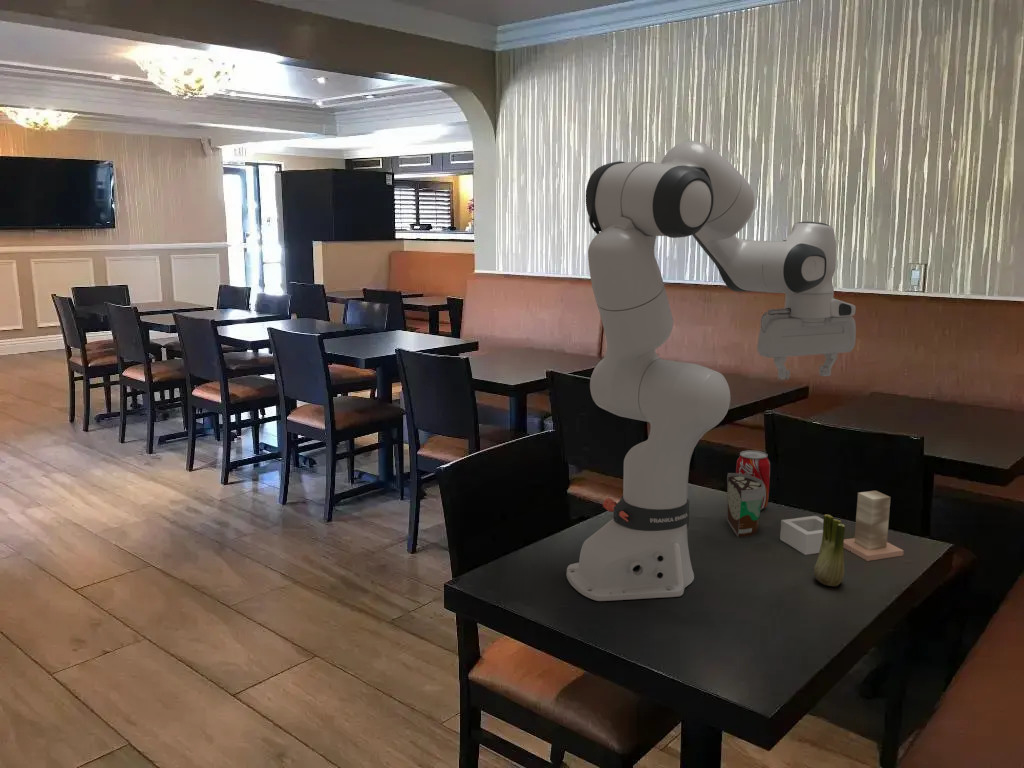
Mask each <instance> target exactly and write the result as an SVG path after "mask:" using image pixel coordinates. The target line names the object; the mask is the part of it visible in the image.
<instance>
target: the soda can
mask: <svg viewBox="0 0 1024 768" xmlns="http://www.w3.org/2000/svg"><path fill="white" fill-rule="evenodd" d="M735 467H736V468H735V473H738V474H745V475H750V476H753V477H756V478H758V479H760V480H761V481H762V482H763V484H764V486H765V492H766V495H765V496H764V497H763V498H762V501H761V508H760V511H762V510H763V509H765V508H767V507H768V505H769V504H768V503H769V495H770V479H771V478H770V477H771V475H770V474H771V462H770V460H769V458H768V453H766V452H764V451H762V450H761V451H759V450H751V449H750V450H749V449H748V450H742V451H740V452H739V457H738V458H737V460H736V466H735Z"/></svg>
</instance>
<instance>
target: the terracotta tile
mask: <svg viewBox="0 0 1024 768" xmlns="http://www.w3.org/2000/svg"><path fill="white" fill-rule="evenodd" d="M854 540H855V537H853V538H844V545H843V549H845V550H847V551H849V552H850V551H851V552H850V553H852V554H854V555H855V556H858V557H860V558H861V559H863V560H864V561H866V562H869V561H876V560H882V559H890V558H896V557H902V556H904V550H903V549H901V548H900V547H898V546H896V545H894V544H892V543H890V542H888V541H887V547H886V548H882V549H875V550H867V549H865V548H863V547H861V546H860V545H858V544H856V543H854Z"/></svg>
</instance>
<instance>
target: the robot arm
mask: <svg viewBox="0 0 1024 768" xmlns="http://www.w3.org/2000/svg"><path fill="white" fill-rule="evenodd" d="M588 178H589V179H588V181H587V183H586V184H587V185H586V189H585V207H586V212H587V215H588V222H589V225H590V227H591V229H592V231H594V233H595V234H596V235H595V236H594V237H593V239H591V241H590V243H589V245H588V250H587V260H588V269H589V275H590V281H591V287H592V291H593V295H594V298H595V302H596V305H597V309H598V313H599V315H600V319H601V322H602V323H601V324H602V327H603V331H604V335H605V340H606V350H605V351H606V352H605V355H604V357H603V358H602V359H601V360H600V361H599V362H598V363H597V365H596V366H595V367H594V369H593V371H592V374H591V376H590V380H589V381H590V382H589V389H590V395H591V398H592V401H593V402H594V403H595V405H596V406H597V407H599V408H600V409H602V410H605V411H606V412H609V413H611V414H612V415H616V416H618V417H622V418H627V419H632V420H637V421H642V422H648V423H649V424H650V429H649V435H648V438H647V439H646V440H645V441H642V442H639V443H637V444H636V445H634V446H632V447H631V448H630V449H629V450H628V452H627V453H626V454H625V457H624V459H623V480H622V481H623V486H622V489H623V490H622V491H623V494H622V496H621V497H620V499H619V501H618V502H616V501H614V499H612V498H610V497H608V498H605V499H604V501H603V503H602V506H603V508H604V509H605V510H606V511H608V512H609V513H612V512H613V517H612V518H611V519H610V520H609V521H608V522H606V523H605V524H604V525H603V526H602V527H601V528H599V529H598V530H596V532H594V533H593V534H592V535H590V536H588V537H587V539H585V540H584V541H583V543H582V546H581V550H580V554H579V561H578V562H575V563H571V564H568V566H567V567H566V573H565V574H566V579H567V581H568V583H569V584H570V586H572V587H573V588H574V589H575V590H576V591H577V592H578V593H580V594H581V595H582V596H584V597H586V598H588V599H591V600H594V601H597V602H607V601H609V602H610V601H623V600H626V601H627V600H642V599H643V600H644V599H657V598H658V599H659V598H675V597H678V598H679V597H681V596H682V595H683V594H684V592H685V588H686V587H688V586H689V585H691V584H692V583H693V582H694V580H695V574H694V571H693V567H692V561H691V557H690V551H689V542H688V528H689V524H690V500H689V498H688V485H689V484H688V483H689V472H690V463H691V459H692V455H693V453H694V449H695V447H696V446H697V444H698V443H699V441H700V440H701V438H702V437H703V436H704V435H705V434H706V433H708V431H710V430H712V429H714V428H716V427H717V425H719V424H720V423H721V422H722V421H723V420H724V419H725V416H727V414H728V411H729V408H730V404H731V390H730V386H729V383H728V382H727V381H728V380H727V379H726V378H725V376H724V375H723V373H721V372H720V371H716V370H714V369H711V368H709V367H706V366H703V365H701V364H698V363H691V362H685V361H678V360H669V359H664V358H661V357H660V356H659V355H658V354H657V352H656V349H658V348H659V347H661V346H663V345H664V343H666V342H667V340H668V339H669V337H670V336H671V333H672V331H673V329H674V328H673V326H674V318H673V314H672V311H671V306H670V302H669V298H668V296H667V291H666V287H665V282H664V280H663V276H662V273H661V270H660V267H659V263H658V261H657V259H656V256H655V255H656V254H655V247H656V246H655V245H656V239H657V237H667V238H672V239H678V238H687V237H690V236H693V238H694V240H695V241H696V242H697V244H698V245H699V246H700V247H701V248H702V250H703V251H704V252H705V253H706V255H707V256H708V257H709V258H710V260H711V261H712V262H713V264H714V265H715V267H716V268H717V270H718V272H719V276H720V277H721V279H722V281H723V283H724V284H725V286H726V287H727V288H728V289H730V290H731V291H733V292H736V293H737V292H744V293H745V292H746V293H747V292H760V293H772V294H775V293H776V294H777V293H778V294H785V296H784V308H782V307H781V308H776V309H775V308H770V309H767V311H766V312H764V313H763V314H762V315H761V317H760V328H759V333H758V339H757V344H756V345H757V347H756V348H757V349H756V350H757V352H758V355H759V356H761V357H763V358H768V359H773V363H774V365H775V367H776V368H777V372H778V373H777V377H778V379H779V380H789V379H790V378H791V370H789V369H787V367H786V365H785V363H786V362H787V357H788V358H789V357H798V356H799V357H800V356H813V355H814V356H815V355H816V356H817V355H824V358H825V361H824V362H823V365H819V366H818V367H819V368H818V369H819V371H818V374H819V376H822V377H829V376H831V374H832V368H833V366H834V364H835V363H836V361H837V359H838V354H839V353H840V354H843V353H850V352H852V350H854V348H855V347H856V339H857V337H856V336H857V335H856V333H857V328H856V327H857V326H856V320H855V318H854V317H853V316H855V314H856V308H857V307H856V305H855V304H852V303H849V302H846V301H843V300H841V299H840V300H839V299H837V298H834V296H835V294H834V293H835V291H834V290H835V288H834V286H833V285H834V284H833V279H834V278H833V277H834V274H835V271H836V265H837V264H836V263H837V261H836V260H837V245H836V243H837V241H836V234H835V230H834V227H832V226H831V225H829V224H828V223H825V222H818V221H817V222H816V221H799V222H796V223H794V224H793V225H792V227H791V231H790V234H789V235H788V236H787V237H785V238H784V239H782V240H753V239H744V238H739V237H737V236H736V234H738V233H739V232H741V230H742V229H743V228H745V226H746V225H747V223H748V222H749V220H750V218H751V216H752V214H753V211H754V207H755V194H754V191H753V188H752V187H751V185H750V183H749V182H748V181H747V179H746V178H745V177H744V176H743V174H741V173H740V172H739V170H738V169H736V167H734V166H733V164H732V163H731V162H730V161H728V160H727V159H726V158H725V157H724V156H722V155H721V154H720V153H719V152H717V151H716V150H714V149H712V148H711V147H710V146H708V145H706V144H704V143H702V142H700V141H696V140H687V141H683V142H680V143H678V144H676V145H674V146H673V147H671V148H670V149H669V151H667V153H666V154H665V155H664V157H662V160H661V161H660V163H657V162H654V161H643V160H642V161H630V162H629V161H628V162H626V161H622V160H619V161H613V162H610V163H606V164H605V163H604V164H603V165H601V166H599V167H598V168H596V169H595V170H594V171H593V172H592V174H591V175H590V177H588Z"/></svg>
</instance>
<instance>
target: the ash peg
mask: <svg viewBox="0 0 1024 768" xmlns="http://www.w3.org/2000/svg"><path fill="white" fill-rule="evenodd" d="M891 498H892V497H891V496H889V495H887V494H884V493H882V492H880V491H878V490H870V491H861V492H857V501H856V515H855V528H854V529H855V530H854V538H855V540H854V543H856V544H858V545H860V546H861V547H863V548H865V549H867V550H875V549H882V548H886V547H887V542H888V533H889V521H890V510H891V509H890V507H891Z"/></svg>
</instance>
